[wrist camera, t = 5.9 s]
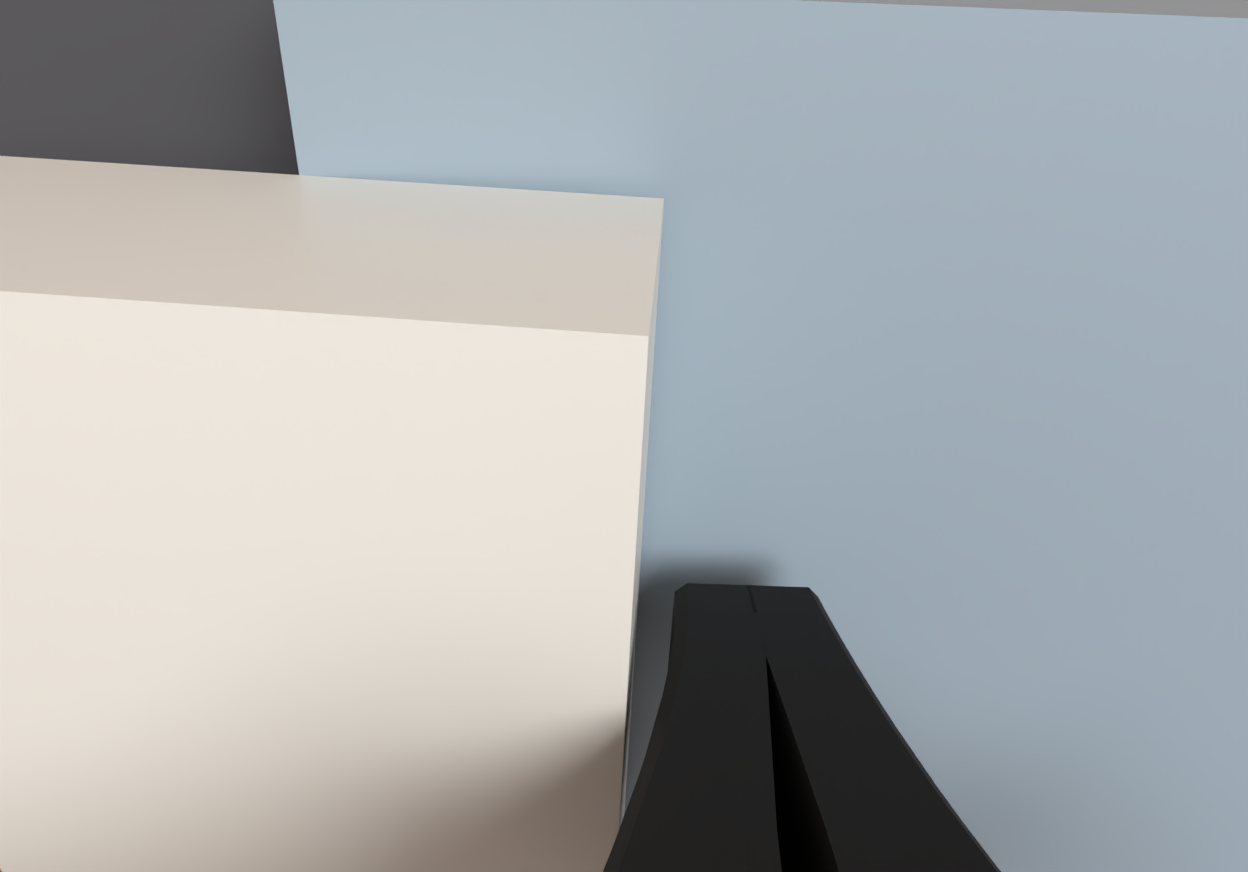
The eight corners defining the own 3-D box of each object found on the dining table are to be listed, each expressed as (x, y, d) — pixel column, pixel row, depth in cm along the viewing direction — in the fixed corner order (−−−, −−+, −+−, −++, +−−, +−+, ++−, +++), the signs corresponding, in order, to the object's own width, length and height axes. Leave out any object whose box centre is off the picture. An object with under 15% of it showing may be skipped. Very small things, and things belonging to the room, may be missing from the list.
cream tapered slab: (620, 864, 13) (604, 1063, 11) (171, 824, 13) (74, 1010, 11) (663, 198, 8) (649, 337, 6) (-60, 151, 8) (-311, 269, 6)
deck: (1437, 745, 17) (1604, 945, 14) (448, 715, 17) (408, 911, 14) (1997, -10, 10) (2534, 69, 7) (375, -75, 10) (269, -21, 7)
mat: (456, 806, 18) (454, 821, 18) (-91, 790, 18) (-102, 804, 18) (370, -132, 10) (364, -130, 10) (-641, -172, 10) (-676, -173, 9)
